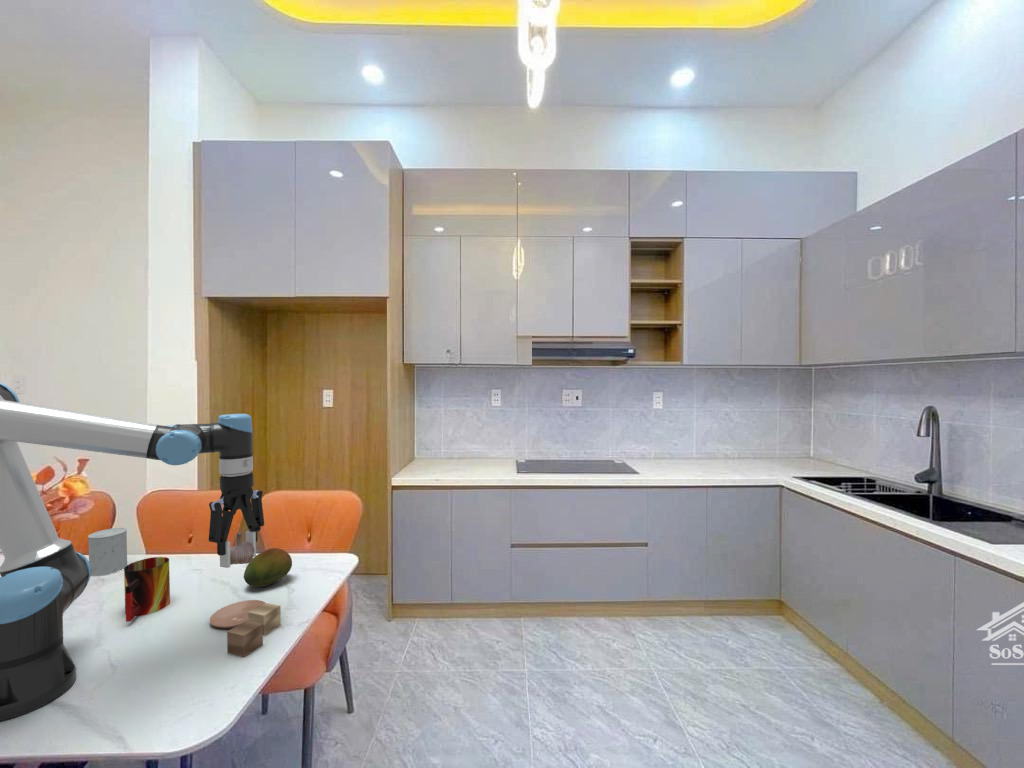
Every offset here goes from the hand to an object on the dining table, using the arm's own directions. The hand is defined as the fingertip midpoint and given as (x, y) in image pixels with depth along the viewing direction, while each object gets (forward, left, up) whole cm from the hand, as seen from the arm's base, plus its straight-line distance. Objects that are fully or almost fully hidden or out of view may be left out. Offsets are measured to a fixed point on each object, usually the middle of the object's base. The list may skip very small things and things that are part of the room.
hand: (238, 560), depth 119 cm
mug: (-5, +27, -15) cm, 31 cm away
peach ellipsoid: (0, 0, -15) cm, 15 cm away
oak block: (-2, -11, -15) cm, 19 cm away
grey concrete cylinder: (+8, +68, -15) cm, 70 cm away
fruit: (+17, +9, -15) cm, 24 cm away
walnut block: (-10, -14, -15) cm, 23 cm away
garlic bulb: (0, 0, -1) cm, 1 cm away
